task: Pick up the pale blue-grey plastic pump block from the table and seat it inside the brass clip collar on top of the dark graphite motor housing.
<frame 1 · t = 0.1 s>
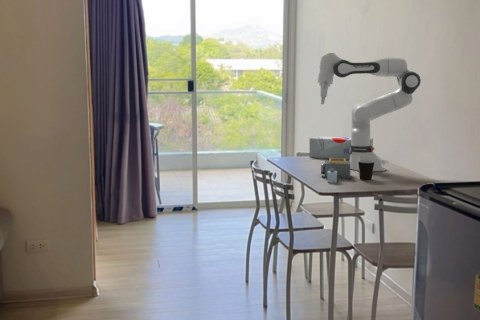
hand: (322, 103, 348), 39 cm above the table, tool pointing down, fingers open, 8 cm apart
pump: (331, 181, 314), on the table
coffee mug: (366, 179, 321), on the table
motor: (336, 176, 328), on the table
soda pack: (340, 158, 390), on the table
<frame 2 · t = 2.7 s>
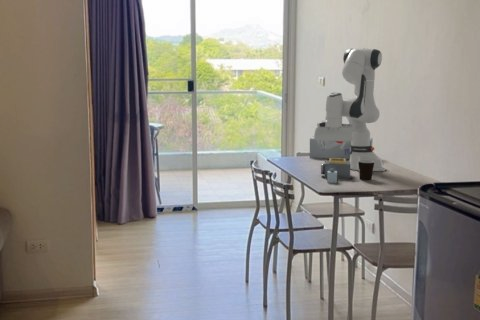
hand: (332, 149, 311), 18 cm above the table, tool pointing down, fingers open, 8 cm apart
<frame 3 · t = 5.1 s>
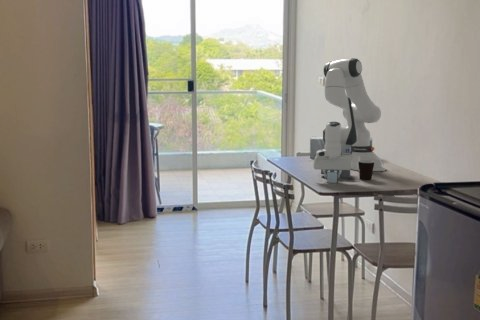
hand: (332, 177, 314), 2 cm above the table, tool pointing down, fingers closed on pump, 5 cm apart
pump: (331, 181, 314), on the table, touching gripper
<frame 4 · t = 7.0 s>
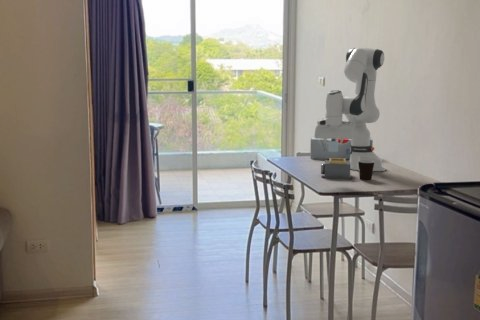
hand: (333, 147, 312), 19 cm above the table, tool pointing down, fingers closed on pump, 5 cm apart
pump: (333, 150, 312), point 17 cm above the table, touching gripper
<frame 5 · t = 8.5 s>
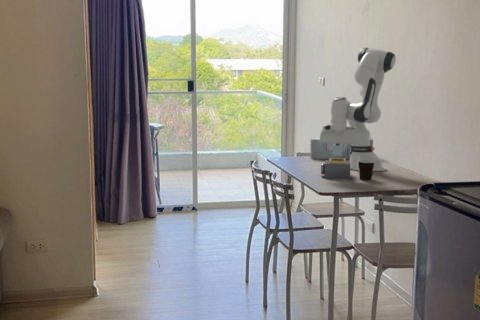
hand: (337, 151, 326), 14 cm above the table, tool pointing down, fingers closed on pump, 5 cm apart
pump: (337, 154, 326), point 12 cm above the table, touching gripper
when the fingers open (12 cm above the table, at t = 9.4 s): pump drops 1 cm, resting on motor.
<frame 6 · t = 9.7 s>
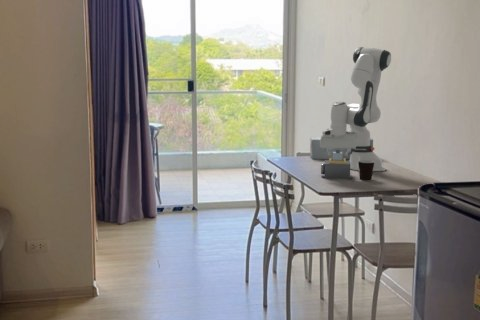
hand: (337, 156, 326), 12 cm above the table, tool pointing down, fingers open, 8 cm apart
pump: (337, 162, 327), point 8 cm above the table, touching motor
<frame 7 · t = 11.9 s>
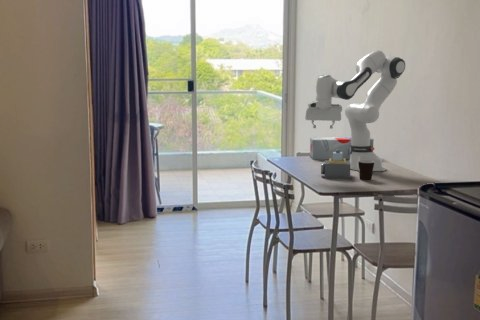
hand: (322, 128, 332), 26 cm above the table, tool pointing down, fingers open, 8 cm apart
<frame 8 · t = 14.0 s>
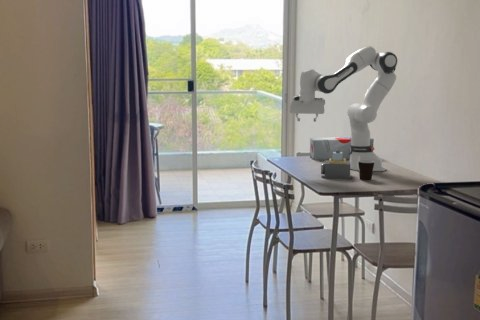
hand: (306, 121, 341), 29 cm above the table, tool pointing down, fingers open, 8 cm apart
at the end: pump 0.1 cm off-centre on the motor, point 8.0 cm above the motor's base; pump tilted 0°; the gripper is holding nothing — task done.
